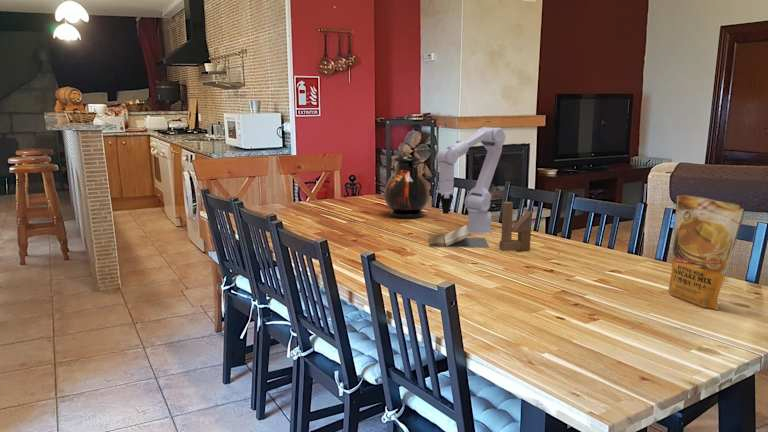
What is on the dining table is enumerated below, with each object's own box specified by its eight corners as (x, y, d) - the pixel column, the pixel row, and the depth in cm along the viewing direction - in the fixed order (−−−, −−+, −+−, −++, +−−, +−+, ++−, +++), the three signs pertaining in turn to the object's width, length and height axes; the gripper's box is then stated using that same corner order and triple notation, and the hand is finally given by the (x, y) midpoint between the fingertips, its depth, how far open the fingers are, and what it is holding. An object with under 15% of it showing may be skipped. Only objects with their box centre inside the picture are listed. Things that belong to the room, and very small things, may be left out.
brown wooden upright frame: (530, 250, 211) (532, 202, 207) (503, 252, 208) (505, 203, 205) (525, 248, 214) (527, 200, 211) (498, 250, 212) (500, 201, 208)
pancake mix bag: (676, 288, 167) (685, 193, 162) (734, 310, 149) (747, 203, 144) (657, 291, 165) (666, 194, 159) (715, 313, 147) (727, 205, 142)
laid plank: (444, 237, 228) (444, 235, 228) (446, 246, 215) (446, 243, 214) (429, 237, 229) (429, 234, 229) (429, 246, 215) (429, 243, 215)
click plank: (467, 227, 227) (466, 224, 227) (470, 235, 213) (469, 232, 213) (445, 237, 228) (443, 234, 228) (446, 246, 215) (445, 243, 214)
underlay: (484, 239, 229) (484, 237, 228) (489, 249, 213) (489, 247, 213) (429, 238, 230) (429, 237, 230) (429, 248, 214) (429, 246, 214)
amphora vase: (377, 213, 283) (376, 156, 277) (415, 210, 292) (416, 155, 286) (396, 221, 263) (396, 160, 258) (437, 217, 272) (438, 158, 267)
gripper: (435, 177, 235) (435, 210, 237) (436, 181, 220) (436, 216, 223) (453, 177, 234) (452, 210, 237) (455, 181, 220) (454, 216, 222)
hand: (445, 213), depth 230 cm, fingers closed
